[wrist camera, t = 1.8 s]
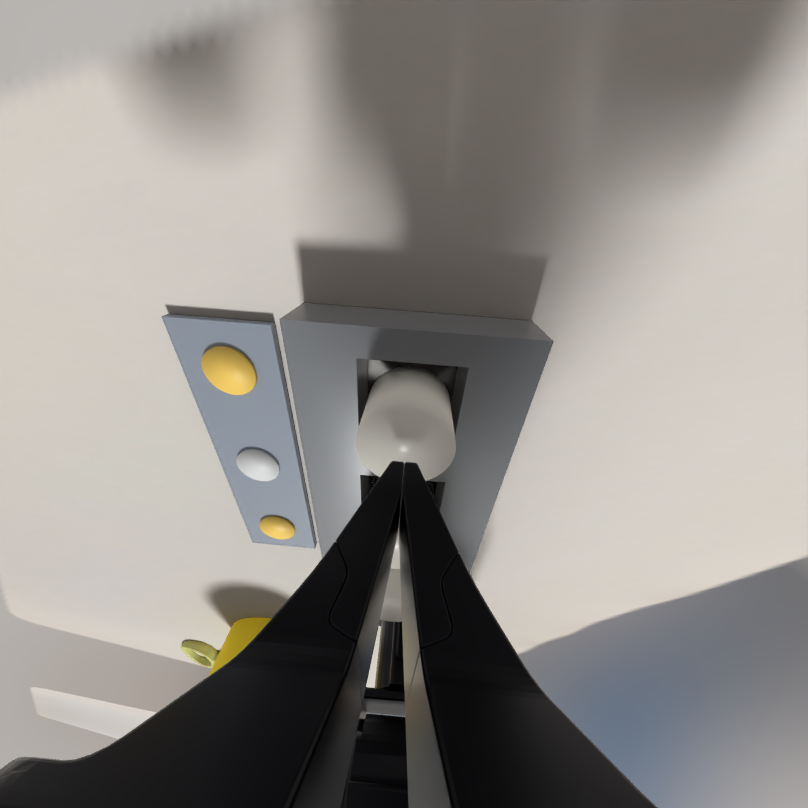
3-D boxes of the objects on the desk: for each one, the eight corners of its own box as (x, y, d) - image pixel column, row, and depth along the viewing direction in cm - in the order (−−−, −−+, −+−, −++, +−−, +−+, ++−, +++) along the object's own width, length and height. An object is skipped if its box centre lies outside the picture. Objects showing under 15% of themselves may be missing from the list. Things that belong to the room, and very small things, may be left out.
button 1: (443, 437, 14) (448, 487, 11) (369, 431, 14) (356, 478, 11) (455, 370, 12) (464, 411, 9) (368, 363, 12) (353, 402, 9)
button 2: (419, 575, 21) (418, 624, 18) (370, 570, 21) (362, 618, 18) (424, 547, 19) (424, 598, 16) (370, 542, 19) (361, 592, 16)
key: (277, 656, 40) (270, 676, 38) (203, 655, 42) (193, 675, 40) (252, 635, 36) (243, 656, 35) (172, 636, 38) (159, 656, 37)
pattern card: (316, 543, 23) (314, 551, 22) (255, 538, 23) (251, 544, 23) (274, 322, 13) (268, 326, 13) (168, 314, 13) (158, 317, 13)
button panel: (456, 563, 23) (460, 597, 21) (335, 552, 23) (327, 584, 21) (531, 320, 12) (553, 341, 10) (304, 302, 13) (279, 319, 10)
